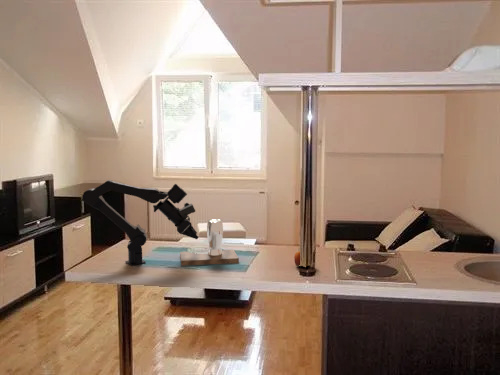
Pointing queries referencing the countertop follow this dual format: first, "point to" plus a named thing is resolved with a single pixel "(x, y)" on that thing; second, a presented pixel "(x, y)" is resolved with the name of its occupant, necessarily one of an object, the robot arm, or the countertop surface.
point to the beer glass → (215, 236)
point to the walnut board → (208, 258)
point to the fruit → (297, 258)
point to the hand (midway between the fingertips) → (196, 236)
